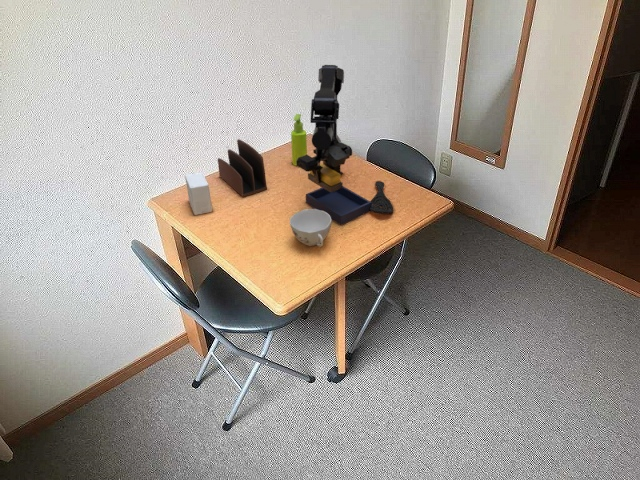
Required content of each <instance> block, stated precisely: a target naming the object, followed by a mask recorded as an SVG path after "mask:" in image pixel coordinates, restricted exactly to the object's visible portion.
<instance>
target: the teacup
mask: <svg viewBox="0 0 640 480" xmlns="http://www.w3.org/2000/svg"><path fill="white" fill-rule="evenodd" d="M289 224H290V225H289V226H290V229H291V231H292V234H293V236H294V237H295V238H296V240H297V241H299V242H300V243H302V245H305V246H308V247H315V246H318V247H323V245H324V240H325V239H326V238H327V236H328V234H329V233H330V231H331V227H332V219H331V217H330V215H329V214H328V213H326V212H324V211H321V210H317V209H315V208H306V209H302V210H299V211H298V212H296V213H294V214H292V216H291V217H290V218H289Z"/></svg>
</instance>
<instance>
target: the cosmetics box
mask: <svg viewBox="0 0 640 480" xmlns="http://www.w3.org/2000/svg"><path fill="white" fill-rule="evenodd" d="M184 180H185V184H186V190H187V196H188V202H189V205H190V207H191V210H192V213H193V215H194V216H197V215H203V214H208V213H211V212H213V206H212V205H213V204H212V198H211V197H212V196H211V192H210V185H209V183H208V180H207V178H206V177H205V175H204V173H203V171H200V172H195V173H188V174H184Z"/></svg>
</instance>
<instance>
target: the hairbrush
mask: <svg viewBox="0 0 640 480" xmlns="http://www.w3.org/2000/svg"><path fill="white" fill-rule="evenodd" d="M374 185H375V187H376V189H377V192H376V193H375V195H374V196H373V197H372V199H371V200H369V201H370V202H372V205H371V208H370V212H372V213H375V214H384V215H391V214H393V213H394V205H393V203H392V200H391V198H389V197H388V196H387V195H386V194H385V191H384V188H385V182H384V181H381V180H377V181H375V182H374Z"/></svg>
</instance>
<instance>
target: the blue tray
mask: <svg viewBox="0 0 640 480" xmlns="http://www.w3.org/2000/svg"><path fill="white" fill-rule="evenodd" d="M370 201H371V200H369V199H367V198H365V197H363V196H361V195H360V194H358V193H356V192H355V191H352V190H351V189H350V188H349V189H348V187H345V186H344V185H343V188H341V189H339V190H336V191H334V192H332V193H330V192H329V191H327V190H325V189H324V188H322V187H320V188H317V189H314V190H313V191H310V192H307V193H305V203H306V204H307V205H309V206H310V207H312V209H317V210H321V211H324V212H326V213H328V214H329V215H330V217H331V221H333V222H335V223H336V224H338V225H339V226H343V225H344V224H347V223H349V222H351V221H353V220H355V219H358V218H359V217H362V216H364V215H366V214H368V213H370V212H371V211H370V208H371V205H373V204H372V202H370Z"/></svg>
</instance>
